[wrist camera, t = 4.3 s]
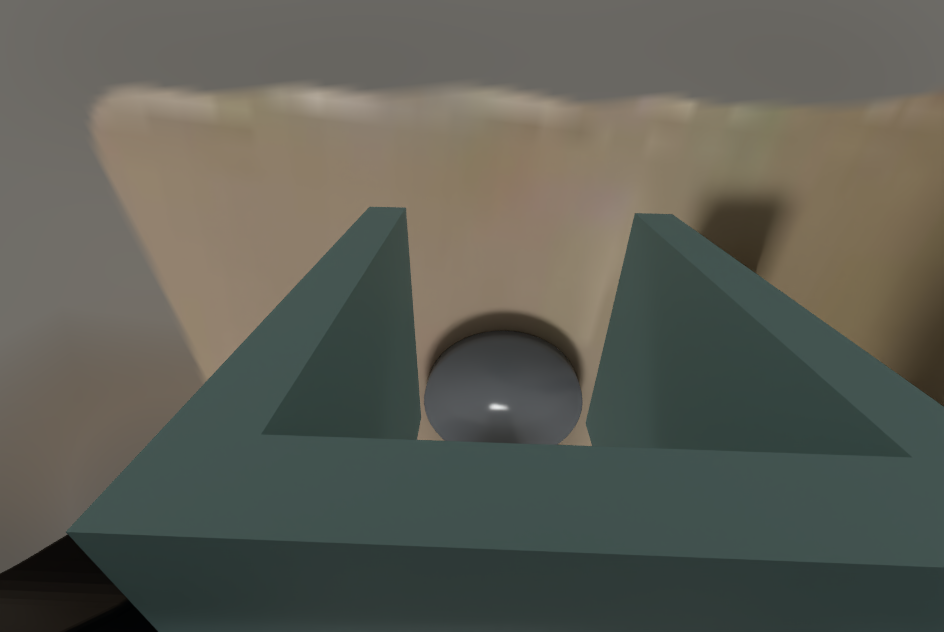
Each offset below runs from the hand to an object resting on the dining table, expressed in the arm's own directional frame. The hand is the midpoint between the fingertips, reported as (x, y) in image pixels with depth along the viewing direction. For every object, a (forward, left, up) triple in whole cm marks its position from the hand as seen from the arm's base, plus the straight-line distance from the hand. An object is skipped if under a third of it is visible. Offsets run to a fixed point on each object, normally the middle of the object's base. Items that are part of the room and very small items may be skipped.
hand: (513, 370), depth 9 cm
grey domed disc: (-1, +12, -13) cm, 17 cm away
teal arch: (0, 0, -2) cm, 2 cm away
